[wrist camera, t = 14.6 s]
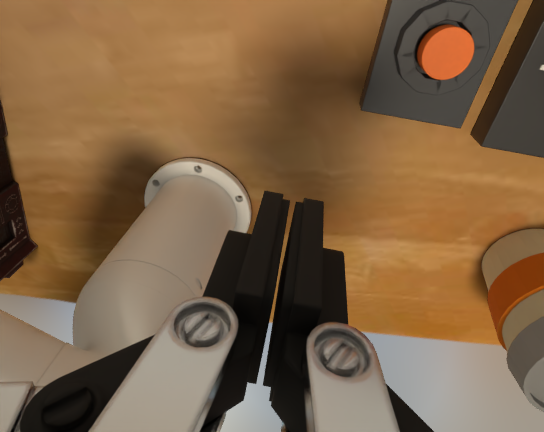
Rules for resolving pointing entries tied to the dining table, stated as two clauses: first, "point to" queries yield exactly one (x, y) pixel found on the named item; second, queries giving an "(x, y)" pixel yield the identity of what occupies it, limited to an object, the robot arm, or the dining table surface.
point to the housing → (407, 72)
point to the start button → (445, 52)
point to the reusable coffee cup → (519, 306)
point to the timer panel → (518, 94)
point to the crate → (11, 217)
